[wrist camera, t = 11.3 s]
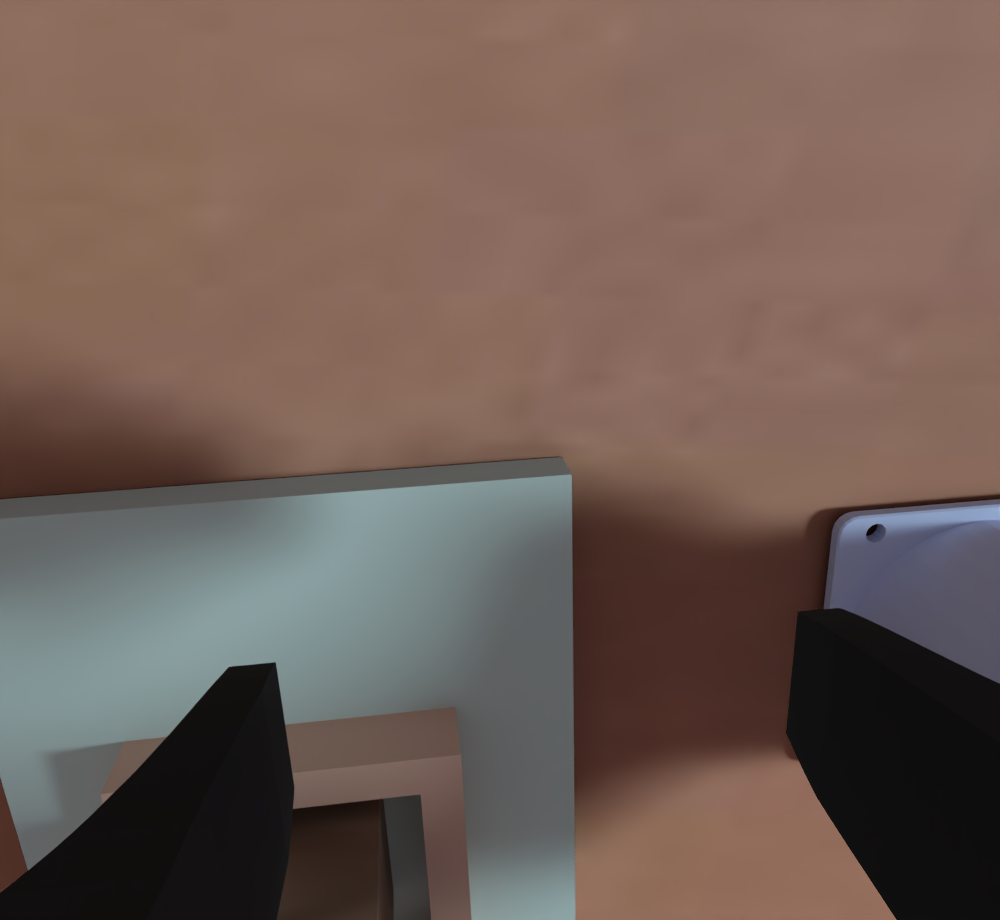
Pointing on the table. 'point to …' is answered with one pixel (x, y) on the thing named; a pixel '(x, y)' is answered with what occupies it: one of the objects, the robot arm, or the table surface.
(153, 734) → the dock board
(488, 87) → the table surface
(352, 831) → the spigot block
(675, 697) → the table surface
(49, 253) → the table surface
